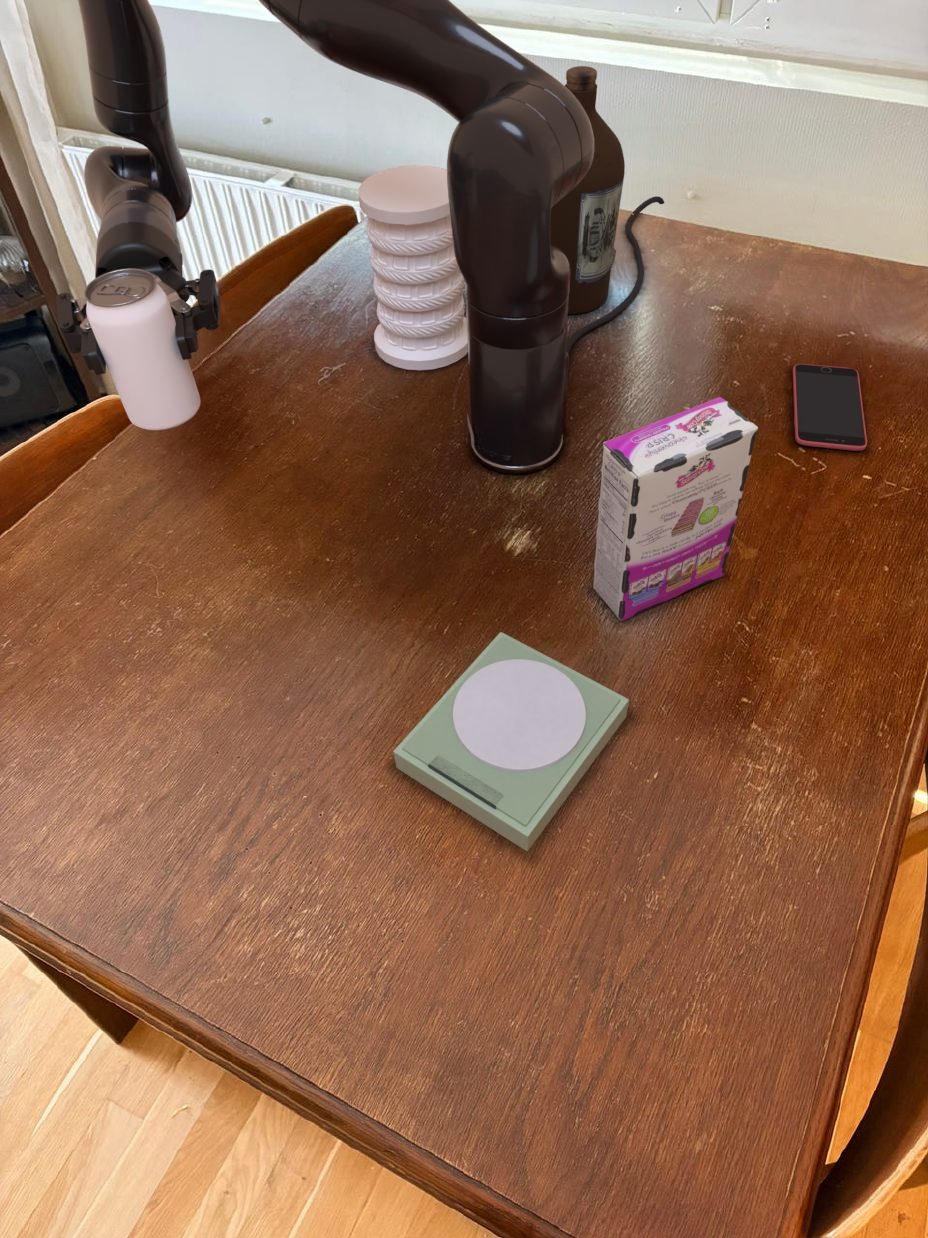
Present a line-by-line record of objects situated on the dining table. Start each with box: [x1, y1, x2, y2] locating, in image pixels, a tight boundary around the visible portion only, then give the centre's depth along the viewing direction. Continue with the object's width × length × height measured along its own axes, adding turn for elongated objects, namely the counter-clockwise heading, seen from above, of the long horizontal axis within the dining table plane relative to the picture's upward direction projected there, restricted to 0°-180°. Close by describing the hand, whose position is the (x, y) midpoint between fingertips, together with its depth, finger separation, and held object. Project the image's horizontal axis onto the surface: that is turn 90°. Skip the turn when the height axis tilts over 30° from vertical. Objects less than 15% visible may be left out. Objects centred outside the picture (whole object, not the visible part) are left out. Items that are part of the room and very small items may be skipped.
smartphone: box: [792, 363, 868, 452], centre depth 94 cm, size 7×1×14 cm
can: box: [83, 269, 201, 432], centre depth 75 cm, size 6×6×12 cm
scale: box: [392, 631, 630, 852], centre depth 68 cm, size 14×12×3 cm
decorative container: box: [357, 164, 468, 371], centre depth 99 cm, size 12×12×18 cm
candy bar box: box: [592, 396, 759, 622], centre depth 73 cm, size 11×5×16 cm, turn 117°
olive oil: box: [550, 65, 626, 315], centre depth 102 cm, size 11×11×25 cm
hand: (140, 357), depth 73 cm, fingers closed on can, 6 cm apart
